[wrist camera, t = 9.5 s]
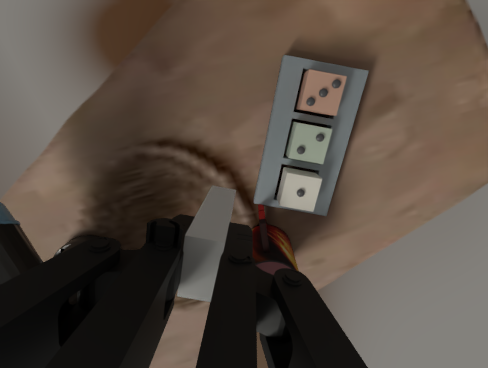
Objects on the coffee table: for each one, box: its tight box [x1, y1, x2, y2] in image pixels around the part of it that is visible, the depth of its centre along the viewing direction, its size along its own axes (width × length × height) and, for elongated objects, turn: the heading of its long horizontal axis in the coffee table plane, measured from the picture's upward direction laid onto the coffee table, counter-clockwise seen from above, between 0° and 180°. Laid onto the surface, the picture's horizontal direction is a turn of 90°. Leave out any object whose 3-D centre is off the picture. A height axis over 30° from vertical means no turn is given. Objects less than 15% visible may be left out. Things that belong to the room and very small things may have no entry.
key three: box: [296, 69, 347, 116], centre depth 38 cm, size 6×6×4 cm
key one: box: [277, 167, 322, 212], centre depth 41 cm, size 6×6×4 cm
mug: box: [252, 204, 298, 275], centre depth 43 cm, size 10×14×12 cm
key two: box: [285, 122, 332, 164], centre depth 41 cm, size 6×6×4 cm
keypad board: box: [254, 55, 369, 216], centre depth 42 cm, size 13×24×2 cm, turn 170°
